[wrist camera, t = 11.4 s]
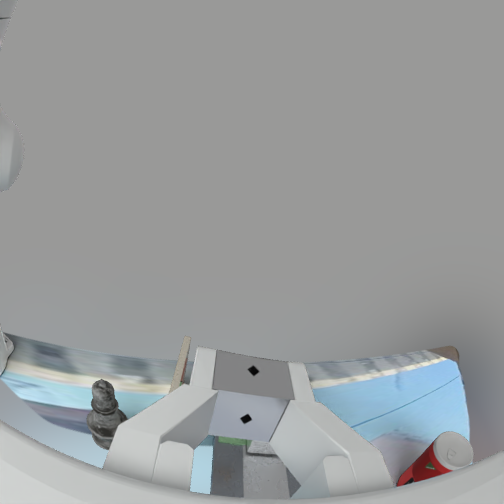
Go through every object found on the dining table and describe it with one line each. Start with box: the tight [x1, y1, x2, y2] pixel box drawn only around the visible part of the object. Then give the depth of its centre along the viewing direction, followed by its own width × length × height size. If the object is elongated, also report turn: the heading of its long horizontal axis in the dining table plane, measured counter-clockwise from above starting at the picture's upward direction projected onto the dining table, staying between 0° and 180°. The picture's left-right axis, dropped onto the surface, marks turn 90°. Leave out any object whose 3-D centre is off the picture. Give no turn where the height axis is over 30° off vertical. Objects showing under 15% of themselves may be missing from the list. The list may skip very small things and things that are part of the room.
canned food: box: [397, 431, 473, 487], centre depth 28 cm, size 8×8×11 cm
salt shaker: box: [87, 379, 128, 450], centre depth 30 cm, size 6×6×12 cm
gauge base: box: [169, 336, 301, 499], centre depth 36 cm, size 30×21×10 cm
